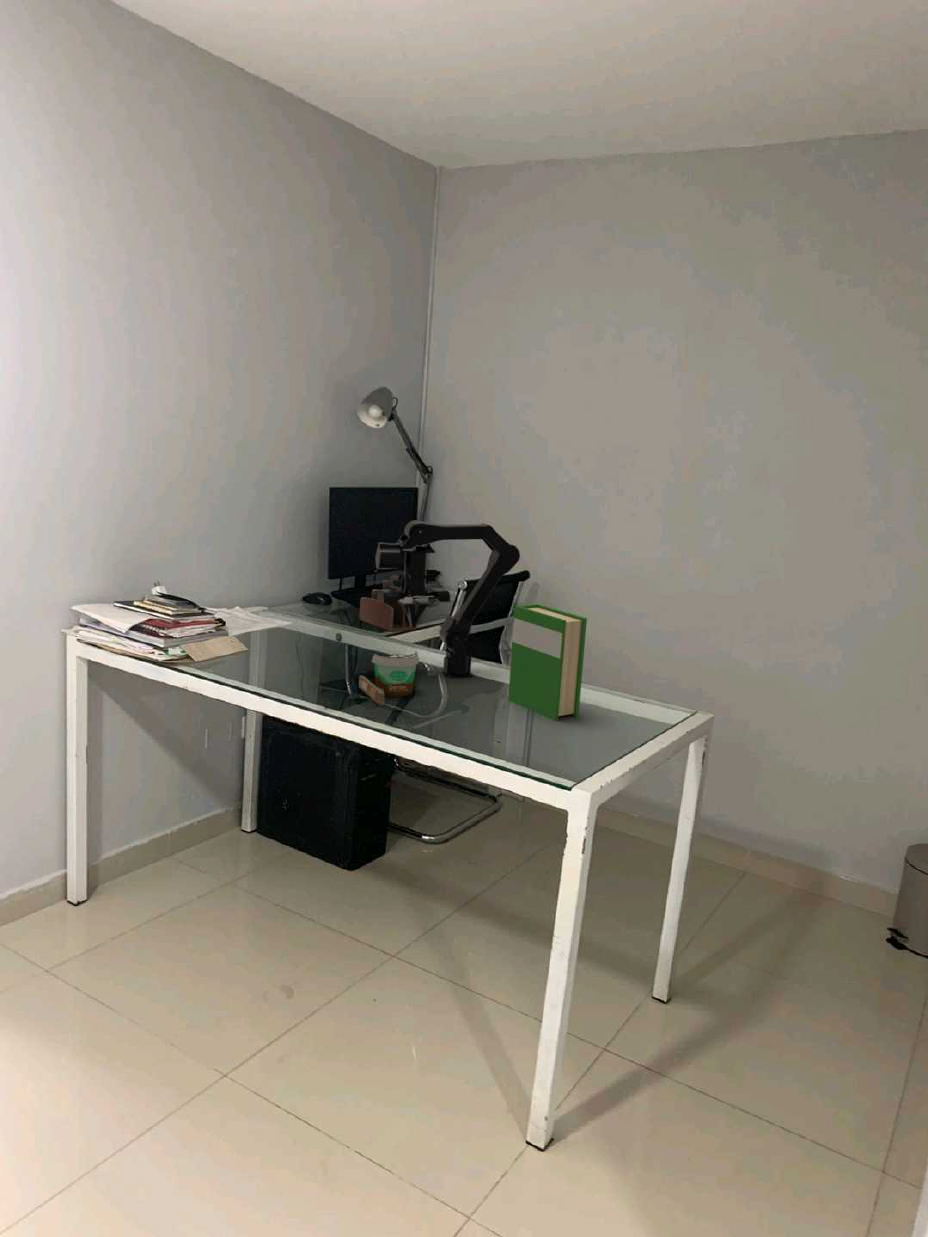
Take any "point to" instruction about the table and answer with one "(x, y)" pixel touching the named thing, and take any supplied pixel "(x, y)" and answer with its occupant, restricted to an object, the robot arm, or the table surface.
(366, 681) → the rail
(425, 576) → the robot arm
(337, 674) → the table surface
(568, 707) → the hardback book
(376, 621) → the letter holder
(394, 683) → the food container
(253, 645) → the table surface
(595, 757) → the table surface
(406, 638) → the table surface
